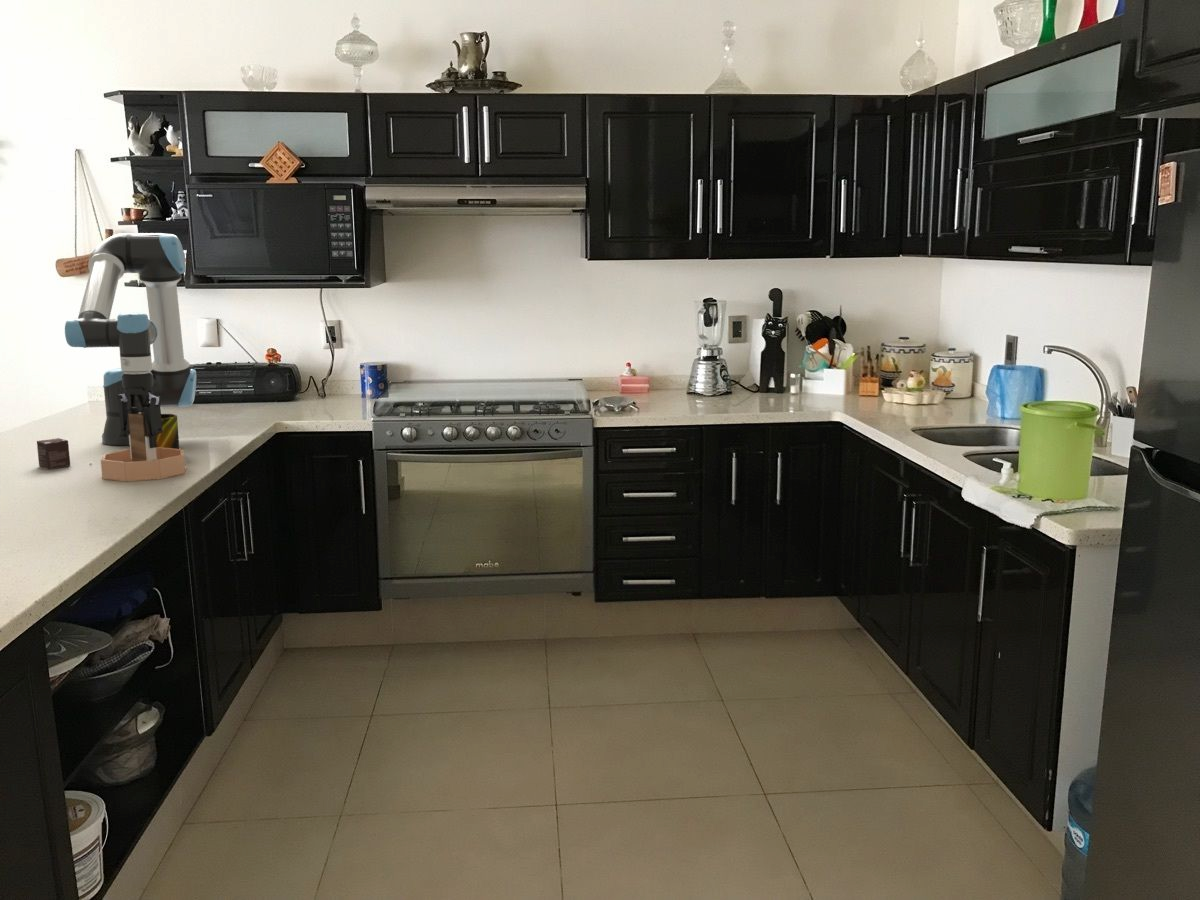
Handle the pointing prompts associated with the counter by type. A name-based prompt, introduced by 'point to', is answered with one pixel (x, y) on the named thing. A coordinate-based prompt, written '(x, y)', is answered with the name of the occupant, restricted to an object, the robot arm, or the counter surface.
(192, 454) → the counter surface
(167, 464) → the octagonal terracotta bowl
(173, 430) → the mug
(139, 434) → the wooden rectangular block
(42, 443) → the box
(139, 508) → the counter surface
